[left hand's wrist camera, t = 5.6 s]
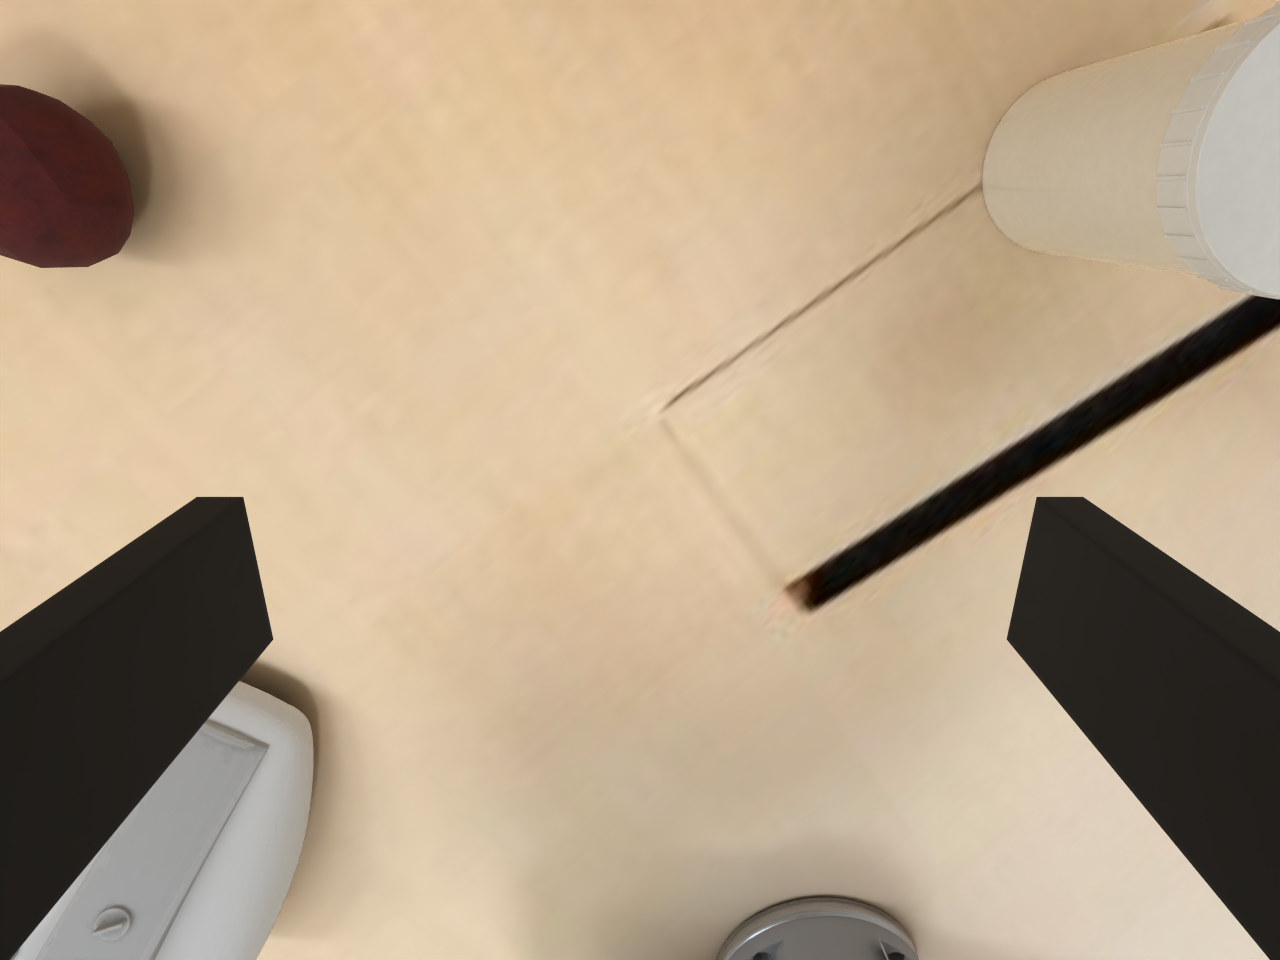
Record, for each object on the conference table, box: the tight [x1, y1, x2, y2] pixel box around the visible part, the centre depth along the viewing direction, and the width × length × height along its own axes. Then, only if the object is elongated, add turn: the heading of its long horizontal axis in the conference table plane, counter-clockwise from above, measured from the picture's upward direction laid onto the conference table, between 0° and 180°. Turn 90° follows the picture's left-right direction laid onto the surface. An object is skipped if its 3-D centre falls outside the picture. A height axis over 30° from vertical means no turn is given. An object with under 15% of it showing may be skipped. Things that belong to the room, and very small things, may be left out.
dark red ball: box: [0, 85, 134, 268], centre depth 33 cm, size 7×8×7 cm
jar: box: [982, 17, 1256, 276], centre depth 29 cm, size 8×8×15 cm
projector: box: [10, 681, 314, 960], centre depth 44 cm, size 22×23×15 cm
